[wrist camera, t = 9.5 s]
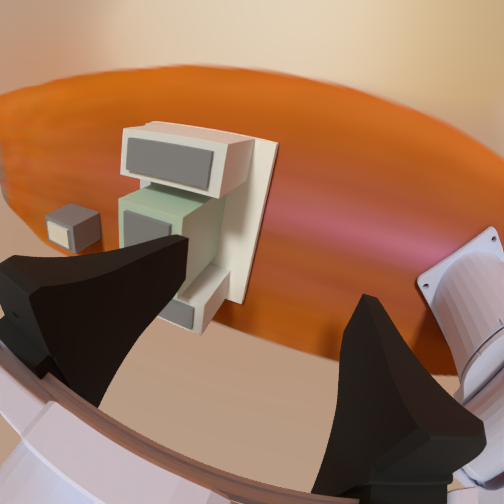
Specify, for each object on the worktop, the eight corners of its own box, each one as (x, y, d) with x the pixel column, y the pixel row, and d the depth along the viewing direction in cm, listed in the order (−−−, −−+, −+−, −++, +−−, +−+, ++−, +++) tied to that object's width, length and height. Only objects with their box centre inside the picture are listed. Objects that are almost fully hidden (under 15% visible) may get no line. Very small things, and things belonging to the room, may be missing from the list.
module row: (279, 142, 18) (254, 150, 13) (244, 299, 25) (218, 345, 20) (156, 121, 20) (103, 127, 15) (148, 263, 27) (109, 297, 21)
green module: (227, 188, 20) (179, 219, 14) (217, 254, 23) (174, 302, 17) (174, 175, 21) (115, 200, 15) (168, 238, 23) (118, 277, 18)
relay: (100, 212, 26) (70, 227, 22) (101, 238, 27) (73, 255, 24) (71, 202, 27) (43, 215, 23) (73, 226, 28) (46, 241, 24)
